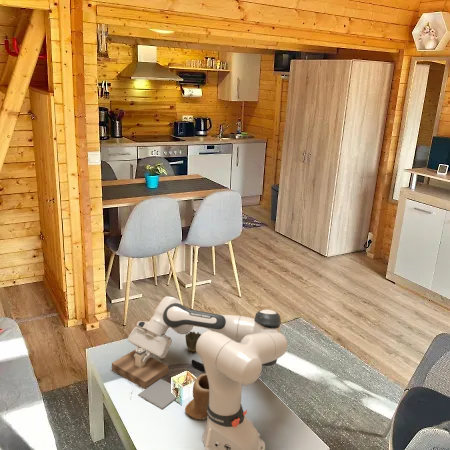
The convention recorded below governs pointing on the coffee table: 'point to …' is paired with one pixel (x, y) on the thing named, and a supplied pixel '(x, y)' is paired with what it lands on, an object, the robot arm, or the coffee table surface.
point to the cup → (192, 340)
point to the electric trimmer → (198, 365)
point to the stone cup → (199, 398)
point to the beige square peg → (139, 357)
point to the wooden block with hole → (140, 370)
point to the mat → (159, 394)
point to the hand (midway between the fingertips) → (139, 359)
